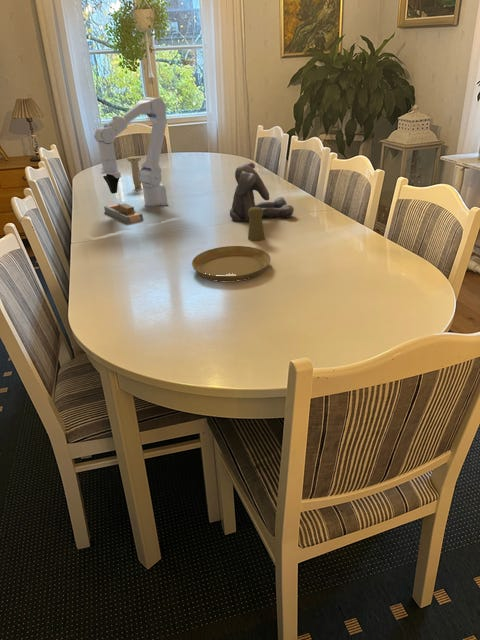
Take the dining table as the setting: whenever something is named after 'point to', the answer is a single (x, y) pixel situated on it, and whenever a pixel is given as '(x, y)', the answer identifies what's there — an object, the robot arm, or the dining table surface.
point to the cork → (255, 224)
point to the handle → (135, 170)
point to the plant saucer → (231, 263)
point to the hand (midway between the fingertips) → (114, 193)
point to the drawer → (126, 209)
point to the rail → (114, 212)
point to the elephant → (245, 197)
